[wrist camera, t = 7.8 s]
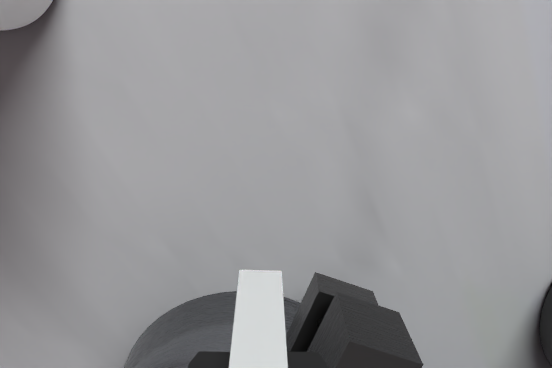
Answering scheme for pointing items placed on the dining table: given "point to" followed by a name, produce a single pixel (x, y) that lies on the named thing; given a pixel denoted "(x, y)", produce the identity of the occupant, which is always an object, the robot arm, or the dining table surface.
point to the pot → (219, 324)
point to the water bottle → (21, 12)
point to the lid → (363, 336)
